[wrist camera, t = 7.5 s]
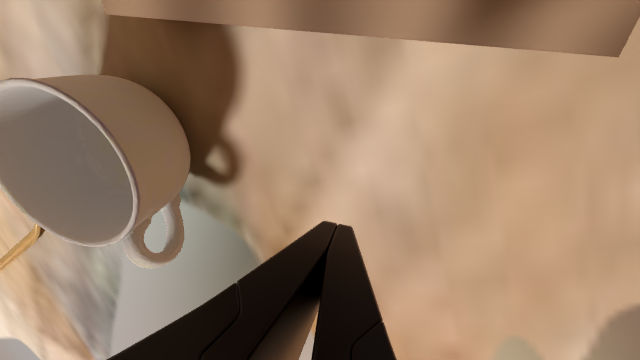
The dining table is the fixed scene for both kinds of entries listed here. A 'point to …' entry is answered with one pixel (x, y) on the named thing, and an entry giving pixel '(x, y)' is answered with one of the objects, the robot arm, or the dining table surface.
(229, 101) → the dining table surface
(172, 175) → the teacup
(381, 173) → the dining table surface
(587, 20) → the walnut block
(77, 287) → the dining table surface
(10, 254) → the gold ring
